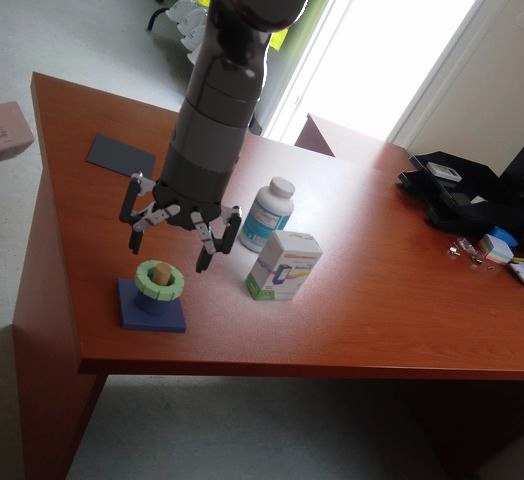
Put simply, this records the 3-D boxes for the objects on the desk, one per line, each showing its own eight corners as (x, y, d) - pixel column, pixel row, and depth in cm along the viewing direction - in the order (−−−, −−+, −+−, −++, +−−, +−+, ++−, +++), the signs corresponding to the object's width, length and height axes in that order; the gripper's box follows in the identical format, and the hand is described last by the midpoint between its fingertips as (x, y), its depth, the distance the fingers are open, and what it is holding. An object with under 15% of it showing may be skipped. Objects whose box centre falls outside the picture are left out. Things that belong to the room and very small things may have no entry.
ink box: (281, 281, 86) (311, 231, 78) (293, 301, 83) (325, 251, 76) (243, 281, 81) (270, 227, 73) (254, 301, 79) (284, 248, 71)
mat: (86, 161, 85) (86, 160, 85) (97, 134, 93) (98, 133, 93) (149, 184, 89) (150, 183, 89) (156, 156, 97) (156, 155, 97)
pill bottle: (261, 231, 95) (290, 174, 86) (278, 255, 92) (309, 198, 83) (231, 230, 91) (258, 169, 82) (247, 255, 87) (277, 194, 78)
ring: (131, 293, 61) (133, 285, 60) (138, 262, 65) (140, 254, 64) (179, 306, 63) (182, 299, 62) (182, 275, 67) (185, 268, 66)
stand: (122, 329, 63) (134, 287, 57) (116, 283, 68) (127, 241, 62) (184, 333, 67) (201, 294, 62) (174, 290, 72) (189, 251, 67)
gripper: (261, 157, 55) (217, 258, 66) (144, 110, 51) (117, 228, 61) (265, 188, 50) (217, 293, 61) (135, 139, 46) (108, 262, 56)
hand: (167, 260), depth 61 cm, fingers open, 8 cm apart
